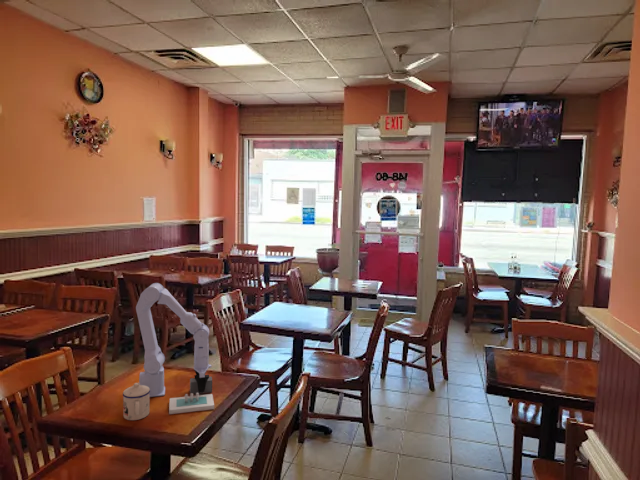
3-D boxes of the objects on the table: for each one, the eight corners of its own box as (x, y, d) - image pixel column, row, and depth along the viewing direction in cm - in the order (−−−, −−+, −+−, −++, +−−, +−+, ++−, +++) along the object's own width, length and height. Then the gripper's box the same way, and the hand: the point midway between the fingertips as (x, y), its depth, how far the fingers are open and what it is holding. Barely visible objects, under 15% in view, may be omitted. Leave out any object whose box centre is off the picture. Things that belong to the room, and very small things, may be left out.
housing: (190, 394, 172) (190, 382, 171) (189, 390, 176) (190, 378, 175) (212, 392, 174) (212, 380, 174) (211, 388, 178) (211, 376, 178)
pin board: (169, 414, 155) (169, 401, 155) (169, 402, 164) (169, 390, 164) (214, 409, 160) (214, 397, 160) (212, 397, 170) (212, 386, 169)
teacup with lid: (122, 411, 156) (122, 380, 155) (149, 407, 160) (149, 377, 159) (122, 427, 145) (122, 394, 144) (151, 422, 149) (151, 390, 148)
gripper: (212, 361, 168) (212, 394, 169) (210, 349, 182) (209, 379, 183) (194, 362, 166) (193, 396, 167) (193, 350, 180) (192, 381, 181)
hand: (201, 387), depth 175 cm, fingers open, 7 cm apart
